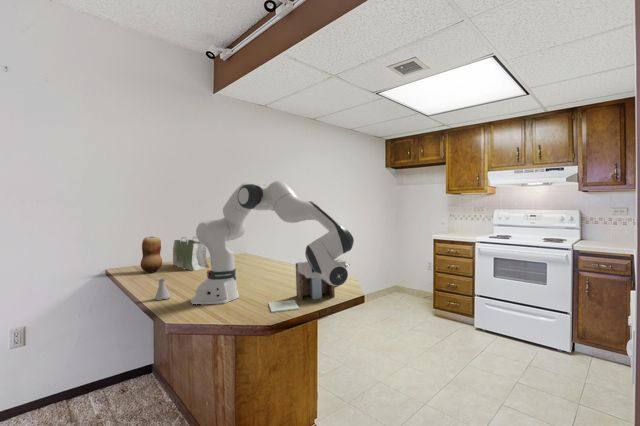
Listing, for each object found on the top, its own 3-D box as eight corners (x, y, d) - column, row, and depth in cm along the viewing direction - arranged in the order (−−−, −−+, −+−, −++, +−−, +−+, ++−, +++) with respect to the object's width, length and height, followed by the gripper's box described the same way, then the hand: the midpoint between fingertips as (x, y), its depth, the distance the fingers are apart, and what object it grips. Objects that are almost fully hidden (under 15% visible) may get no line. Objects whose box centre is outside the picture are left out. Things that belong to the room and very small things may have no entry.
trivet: (271, 312, 133) (271, 311, 133) (268, 303, 144) (268, 302, 144) (299, 309, 136) (299, 307, 136) (294, 301, 147) (294, 299, 147)
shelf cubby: (300, 300, 147) (298, 266, 147) (296, 295, 156) (295, 263, 155) (334, 297, 152) (333, 263, 151) (329, 292, 160) (328, 260, 160)
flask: (154, 302, 153) (153, 281, 152) (154, 298, 159) (153, 278, 159) (171, 299, 156) (170, 279, 156) (170, 295, 163) (169, 276, 162)
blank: (312, 299, 149) (311, 274, 149) (310, 296, 154) (309, 272, 153) (321, 298, 151) (321, 273, 150) (319, 295, 155) (318, 271, 154)
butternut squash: (156, 274, 216) (154, 237, 215) (137, 274, 216) (135, 238, 215) (166, 269, 230) (164, 235, 229) (148, 270, 230) (146, 236, 229)
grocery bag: (210, 267, 232) (209, 236, 231) (192, 271, 222) (191, 238, 221) (189, 263, 253) (188, 234, 252) (172, 266, 243) (170, 236, 242)
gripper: (350, 257, 127) (340, 253, 141) (301, 262, 122) (295, 257, 136) (351, 273, 128) (340, 267, 141) (302, 278, 122) (295, 271, 136)
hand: (318, 262), depth 138 cm, fingers open, 8 cm apart
